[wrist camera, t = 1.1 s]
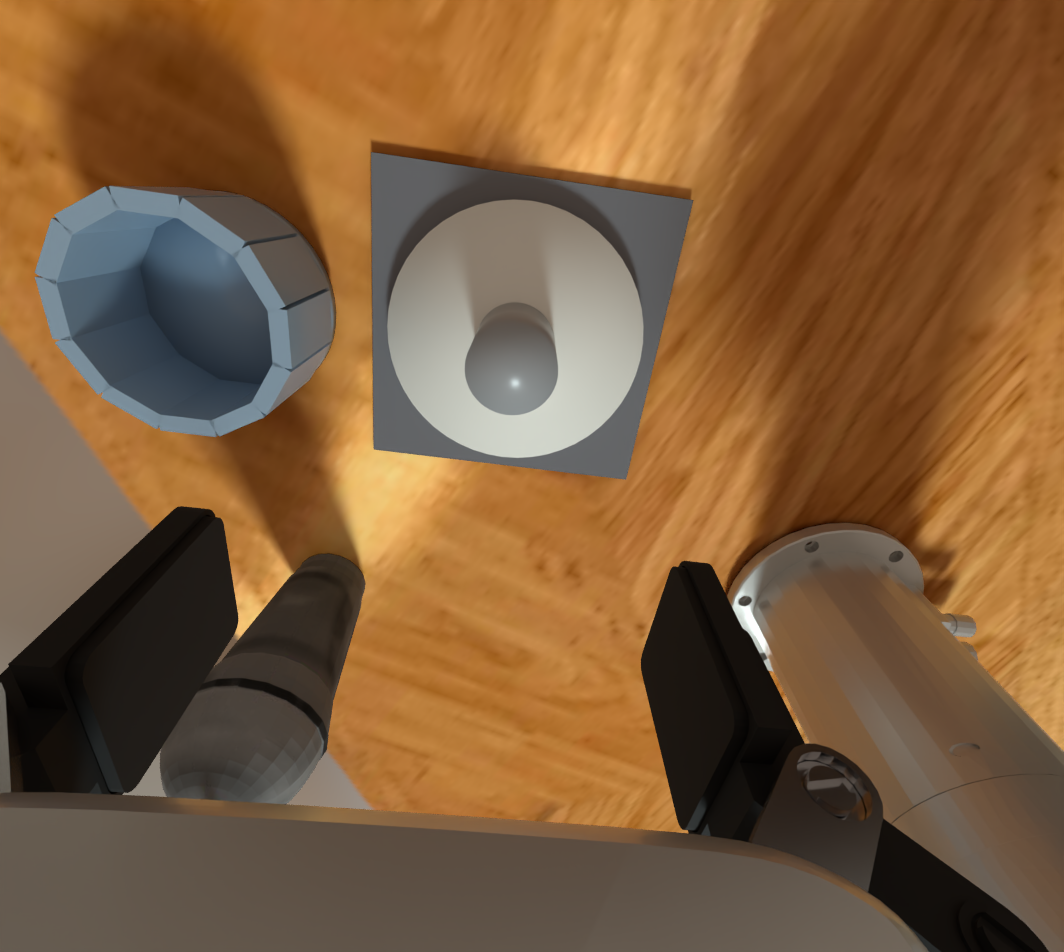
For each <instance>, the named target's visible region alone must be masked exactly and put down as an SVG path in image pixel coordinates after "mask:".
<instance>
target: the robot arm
mask: <svg viewBox="0 0 1064 952" xmlns="http://www.w3.org/2000/svg"><path fill="white" fill-rule="evenodd" d="M923 591H924V581H923V573H922V570H921V568H920V565H919V563H918V561H917V559H916V558H915V557H914V556H913V554H912V553H911V552H910V551H909V549H907V548H906V547H905V546H904V545H903V544H902V543H901V542H900V541H899V540H897V539H896V538H895V537H893V536H892V535H890V534H888V533H886V532H885V531H883V530H880V529H877V528H874V527H871V526H867V525H862V524H854V523H831V524H824V525H818V526H813V527H808V528H805V529H803V530H800V531H797V532H794V533H791V534H789V535H787V536H785V537H783V538H781V539H779V540H777V541H775V542H773V543H771V544H770V545H769V546H767V547H766V548H764V549H763V550H762V551H760V552H759V553H757V554H756V555H755V556H754V557H753V558H752V559H751V560H750V561H749V562H748V563H747V564H746V565H745V566H744V567H743V568H742V570H741V571H740V573H739V574H738V575H737V577H736V578H735V580H734V581H733V583H732V586H731V588H730V590H729V592H728V595H727V596H726V594H725V592H724V590H723V588H722V586H721V584H720V582H719V580H718V577H717V575H716V573H715V571H714V569H713V567H712V566H711V565H710V564H708V563H699V562H690V561H682V562H681V563H680V565H679V567H672V569H671V570H670V573H669V576H668V579H667V582H666V585H665V588H664V591H663V594H662V597H661V600H660V603H659V605H658V608H657V611H656V614H655V617H654V620H653V623H652V626H651V629H650V632H649V635H648V638H647V641H646V644H645V647H644V650H643V653H642V658H641V671H642V675H643V680H644V684H645V688H646V692H647V696H648V700H649V704H650V708H651V713H652V717H653V721H654V725H655V729H656V733H657V737H658V742H659V746H660V750H661V754H662V758H663V762H664V766H665V770H666V775H667V779H668V783H669V787H670V791H671V795H672V799H673V804H674V808H675V812H676V816H677V820H678V823H679V825H680V827H681V828H682V829H683V830H688V832H689V834H687V833H676V832H665V831H654V830H643V829H632V828H621V827H609V826H595V825H581V824H567V823H553V822H539V821H526V820H512V819H498V818H484V817H470V816H455V815H440V814H425V813H410V812H395V811H380V810H364V809H349V808H334V807H319V806H304V805H287V804H271V803H254V802H238V801H222V800H205V799H189V798H172V797H154V796H131V795H122V794H123V793H124V792H125V793H128V792H130V791H132V790H133V789H134V788H135V787H136V786H137V784H138V783H139V782H140V780H141V779H142V777H143V776H144V774H145V773H146V771H147V769H148V768H149V766H150V765H151V763H152V762H153V760H154V759H155V757H156V755H157V754H158V752H159V751H160V749H161V748H162V746H163V745H164V743H165V741H166V740H167V738H168V737H169V735H170V734H171V732H172V731H173V729H174V727H175V726H176V724H177V723H178V721H179V720H180V718H181V716H182V715H183V713H184V712H185V710H186V709H187V707H188V706H189V704H190V702H191V701H192V699H193V698H194V696H195V695H196V693H197V692H198V690H199V688H200V687H201V685H202V684H203V682H204V681H205V679H206V677H207V676H208V674H209V673H210V671H211V670H212V668H213V667H214V665H215V663H216V662H217V660H218V659H219V657H220V656H221V654H222V652H223V651H224V649H225V648H226V646H227V644H228V643H229V642H230V640H231V638H232V637H233V635H234V633H235V631H236V628H237V625H238V612H237V605H236V599H235V593H234V587H233V580H232V574H231V568H230V561H229V555H228V549H227V543H226V536H225V530H224V524H223V521H222V519H221V518H217V517H215V514H214V513H213V511H212V510H209V509H201V508H192V507H183V506H181V507H177V508H176V509H174V510H173V511H172V512H171V513H170V514H169V515H168V516H166V517H165V518H164V519H163V520H162V521H161V522H160V523H159V524H158V525H157V526H156V527H155V528H154V529H153V530H151V531H150V532H149V533H148V534H147V535H146V536H145V537H144V538H143V539H142V540H141V541H140V542H139V543H138V544H136V545H135V546H134V547H133V548H132V549H131V550H130V551H129V552H128V553H127V554H126V555H125V556H124V557H123V558H122V559H120V560H119V561H118V562H117V563H116V564H115V565H114V566H113V567H112V568H111V569H110V570H109V571H108V572H107V573H105V574H104V575H103V576H102V577H101V578H100V579H99V580H98V581H97V582H96V583H95V584H94V585H93V586H92V587H90V589H88V590H87V591H86V592H85V593H84V594H83V595H82V596H81V597H80V598H79V599H78V600H77V601H75V602H74V603H73V604H72V605H71V606H70V607H69V608H68V609H67V610H66V611H65V612H64V613H63V614H62V615H61V616H60V617H58V618H57V619H56V620H55V621H54V622H53V623H52V624H51V625H50V626H49V627H48V628H47V629H46V630H44V631H43V632H42V633H41V634H40V635H39V636H38V637H37V638H36V639H35V640H34V641H33V642H32V643H31V644H29V646H28V647H26V648H25V649H24V650H23V651H22V652H21V653H20V654H19V655H18V656H17V657H16V658H15V659H13V661H12V662H10V663H9V664H8V665H9V667H8V668H7V669H6V670H5V671H4V672H3V673H2V674H1V675H0V952H1064V751H1063V750H1062V749H1061V748H1060V747H1059V746H1058V745H1057V744H1056V743H1055V742H1054V741H1053V740H1052V739H1051V738H1050V737H1049V736H1048V735H1047V733H1046V732H1045V731H1044V730H1043V729H1042V728H1041V727H1040V726H1039V725H1038V724H1037V723H1036V722H1035V721H1034V720H1033V719H1032V718H1031V717H1030V716H1029V714H1028V713H1027V712H1026V711H1025V710H1024V709H1023V708H1022V707H1021V706H1020V705H1019V704H1018V703H1017V702H1016V701H1015V700H1014V699H1013V698H1012V697H1011V695H1010V694H1009V693H1008V692H1007V691H1006V690H1005V689H1004V688H1003V687H1002V686H1001V685H1000V684H999V683H998V682H997V681H996V680H995V679H994V678H993V676H992V675H991V674H990V673H989V672H988V671H987V670H986V669H985V668H984V667H983V666H982V665H981V664H980V663H979V662H978V658H977V653H976V651H975V649H974V648H973V646H972V645H970V644H969V643H967V642H960V641H958V640H957V638H956V637H955V636H960V637H972V636H973V635H974V634H975V632H976V623H975V622H974V620H973V618H971V617H969V616H968V615H959V614H942V613H941V612H940V611H939V610H938V609H937V608H936V607H935V606H934V605H933V604H932V603H931V602H930V601H929V600H928V599H927V598H926V597H925V596H924V595H923ZM768 670H769V671H773V672H774V673H775V675H776V677H777V679H778V681H779V683H780V685H781V687H782V689H783V691H784V693H785V695H786V697H787V699H788V701H789V703H790V705H791V707H792V709H793V711H794V713H795V715H796V717H797V719H798V721H799V723H800V725H801V727H802V729H803V731H804V733H805V735H806V737H807V739H808V741H809V743H810V744H805V743H804V741H803V739H802V737H801V735H800V733H799V731H798V729H797V727H796V725H795V723H794V721H793V719H792V717H791V715H790V713H789V711H788V709H787V707H786V705H785V703H784V701H783V699H782V697H781V695H780V693H779V691H778V689H777V687H776V685H775V683H774V681H773V679H772V677H771V675H770V673H769V671H768Z"/></svg>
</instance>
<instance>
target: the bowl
mask: <svg viewBox="0 0 1064 952" xmlns="http://www.w3.org/2000/svg"><path fill="white" fill-rule="evenodd" d="M55 217H56V218H52V219H51V222H50V225H49V228H48V232H47V235H46V238H45V241H44V245H43V248H42V251H41V254H40V257H39V261H38V264H37V267H36V270H35V273H36V274H38V275H39V276H38V277H35V279H36V283H37V286H38V290H39V293H40V297H41V300H42V304H43V307H44V311H45V314H46V318H47V321H48V324H49V328H50V331H51V335H52V338H53V339H59V341H57V342H55V344H56V345H57V346H58V347H59V348H60V350H61V351H62V352H63V353H64V354H65V356H66V357H67V358H68V359H69V361H70V362H71V363H72V364H73V365H74V367H75V368H76V369H77V370H78V371H79V373H80V374H81V375H82V376H83V377H84V379H85V380H86V381H87V382H88V383H89V385H90V386H91V387H92V388H93V389H94V391H95V392H96V393H97V394H100V393H102V392H103V394H102V397H101V398H103V399H105V400H106V401H108V402H110V403H112V404H113V405H115V406H117V407H119V408H120V409H122V410H124V411H126V412H128V413H129V414H131V415H133V416H135V417H136V418H138V419H140V420H142V421H143V422H145V423H147V424H149V425H150V426H152V427H154V428H156V429H157V428H159V427H160V430H162V431H170V432H178V433H187V434H195V435H204V436H212V437H217V436H218V435H219V436H222V435H224V434H227V433H229V432H231V431H234V430H236V429H238V428H241V427H243V426H245V425H248V424H250V423H252V422H255V421H257V420H259V419H262V418H264V417H265V416H267V415H268V414H269V413H270V412H271V411H273V410H274V409H275V408H276V407H277V406H279V405H280V404H281V403H282V402H284V401H285V400H286V399H287V398H288V397H290V396H291V395H292V394H293V393H294V392H296V391H297V390H298V389H299V388H301V387H302V386H303V385H304V384H305V383H307V382H308V381H309V380H310V379H311V377H312V375H313V373H314V372H315V371H316V370H317V369H318V367H319V366H320V365H321V364H322V362H323V361H324V359H325V358H326V356H327V354H328V352H329V350H330V348H331V344H332V341H333V338H334V333H335V327H336V306H335V298H334V294H333V290H332V286H331V283H330V280H329V277H328V274H327V272H326V270H325V268H324V266H323V264H322V262H321V260H320V258H319V257H318V255H317V254H316V252H315V250H314V249H313V247H312V246H311V245H310V243H309V242H308V241H307V240H306V238H305V237H304V236H303V235H302V234H301V233H300V232H299V231H298V230H297V229H296V228H295V227H294V226H293V225H292V224H291V223H290V222H289V221H288V220H286V219H285V218H284V217H283V216H281V215H280V214H279V213H277V212H276V211H274V210H273V209H271V208H269V207H268V206H266V205H264V204H262V203H260V202H258V201H256V200H254V199H251V198H249V197H246V196H244V195H240V194H235V193H231V192H226V191H213V190H204V189H197V188H190V187H147V186H105V187H103V188H101V189H99V190H98V191H96V192H94V193H92V194H90V195H89V196H87V197H85V198H83V199H82V200H80V201H78V202H76V203H74V204H73V205H71V206H69V207H67V208H66V209H64V210H62V211H60V212H58V213H57V214H55Z"/></svg>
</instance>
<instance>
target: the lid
mask: <svg viewBox="0 0 1064 952" xmlns="http://www.w3.org/2000/svg"><path fill="white" fill-rule="evenodd" d="M643 327H644V326H643V316H642V308H641V304H640V299H639V295H638V291H637V289H636V286H635V284H634V281H633V278H632V276H631V274H630V272H629V270H628V268H627V267H626V265H625V263H624V261H623V259H622V258H621V257H620V255H619V254H618V253H617V251H616V250H615V249H614V247H613V246H612V245H611V244H610V243H609V242H608V241H607V240H606V239H605V238H604V237H603V236H602V235H601V234H600V233H599V232H598V231H597V230H596V229H594V228H593V227H592V226H590V225H589V224H588V223H586V222H585V221H584V220H582V219H580V218H578V217H576V216H575V215H573V214H571V213H569V212H567V211H565V210H562V209H560V208H557V207H555V206H552V205H549V204H544V203H540V202H535V201H529V200H515V199H513V200H500V201H492V202H488V203H483V204H479V205H475V206H473V207H470V208H468V209H465V210H463V211H460V212H458V213H456V214H454V215H453V216H451V217H449V218H447V219H446V220H444V221H442V222H441V223H440V224H439V225H437V226H436V227H435V228H434V229H432V230H431V231H430V232H429V233H428V234H427V235H426V236H425V237H424V238H423V239H422V240H421V241H420V242H419V243H418V244H417V245H416V246H415V248H414V249H413V251H412V252H411V253H410V255H409V256H408V258H407V259H406V261H405V263H404V265H403V267H402V268H401V270H400V272H399V274H398V277H397V279H396V282H395V285H394V288H393V291H392V295H391V299H390V304H389V309H388V324H387V329H388V344H389V349H390V354H391V359H392V362H393V366H394V369H395V372H396V375H397V377H398V379H399V381H400V383H401V385H402V388H403V390H404V391H405V393H406V394H407V396H408V398H409V399H410V401H411V402H412V404H413V405H414V406H415V408H416V409H417V410H418V411H419V412H420V414H421V415H422V416H423V417H424V418H425V419H426V420H427V421H428V422H429V423H430V424H431V425H432V426H433V427H435V428H436V429H437V430H439V431H440V432H441V433H443V434H444V435H445V436H447V437H448V438H450V439H452V440H454V441H455V442H457V443H459V444H461V445H463V446H465V447H468V448H470V449H472V450H475V451H479V452H482V453H485V454H489V455H495V456H500V457H512V458H523V457H535V456H540V455H546V454H550V453H553V452H556V451H560V450H562V449H565V448H567V447H569V446H571V445H574V444H576V443H578V442H579V441H581V440H583V439H584V438H586V437H588V436H589V435H590V434H592V433H593V432H594V431H596V430H597V429H598V428H599V427H601V426H602V425H603V424H604V423H605V422H606V421H607V420H608V419H609V418H610V417H611V416H612V414H613V413H614V412H615V411H616V409H617V408H618V407H619V406H620V404H621V403H622V401H623V399H624V398H625V396H626V394H627V393H628V391H629V389H630V387H631V385H632V383H633V380H634V378H635V376H636V373H637V369H638V366H639V362H640V359H641V353H642V346H643Z"/></svg>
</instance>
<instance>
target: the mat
mask: <svg viewBox="0 0 1064 952" xmlns="http://www.w3.org/2000/svg"><path fill="white" fill-rule="evenodd" d="M371 187H372V307H373V426H374V449H375V450H383V451H391V452H400V453H408V454H417V455H425V456H433V457H442V458H450V459H459V460H467V461H475V462H484V463H492V464H500V465H509V466H517V467H526V468H534V469H542V470H551V471H559V472H568V473H576V474H584V475H593V476H601V477H610V478H618V479H626V477H627V473H628V469H629V465H630V460H631V456H632V452H633V448H634V444H635V440H636V436H637V431H638V427H639V423H640V419H641V415H642V411H643V407H644V402H645V398H646V394H647V390H648V386H649V382H650V378H651V373H652V369H653V365H654V361H655V357H656V353H657V349H658V344H659V340H660V336H661V332H662V328H663V324H664V320H665V315H666V311H667V307H668V303H669V299H670V295H671V290H672V286H673V282H674V278H675V274H676V270H677V266H678V261H679V257H680V253H681V249H682V245H683V241H684V237H685V232H686V228H687V224H688V220H689V216H690V212H691V208H692V203H693V200H688V199H681V198H675V197H668V196H661V195H655V194H648V193H641V192H634V191H628V190H621V189H614V188H608V187H601V186H594V185H588V184H581V183H574V182H568V181H561V180H554V179H548V178H541V177H534V176H528V175H521V174H514V173H507V172H501V171H494V170H487V169H481V168H474V167H467V166H461V165H454V164H447V163H441V162H434V161H427V160H421V159H414V158H407V157H400V156H394V155H387V154H380V153H374V152H371ZM513 199H515V200H529V201H535V202H540V203H544V204H549V205H552V206H555V207H557V208H560V209H562V210H565V211H567V212H569V213H571V214H573V215H575V216H576V217H578V218H580V219H582V220H584V221H585V222H586V223H588V224H589V225H590V226H592V227H593V228H594V229H596V230H597V231H598V232H599V233H600V234H601V235H602V236H603V237H604V238H605V239H606V240H607V241H608V242H609V243H610V244H611V245H612V246H613V247H614V249H615V250H616V251H617V253H618V254H619V255H620V257H621V258H622V259H623V261H624V263H625V265H626V267H627V268H628V270H629V272H630V274H631V276H632V278H633V281H634V284H635V286H636V289H637V291H638V295H639V299H640V304H641V308H642V316H643V326H644V327H643V346H642V353H641V359H640V362H639V366H638V369H637V373H636V376H635V378H634V380H633V383H632V385H631V387H630V389H629V391H628V393H627V394H626V396H625V398H624V399H623V401H622V403H621V404H620V406H619V407H618V408H617V409H616V411H615V412H614V413H613V414H612V416H611V417H610V418H609V419H608V420H607V421H606V422H605V423H604V424H603V425H602V426H601V427H599V428H598V429H597V430H596V431H594V432H593V433H592V434H590V435H589V436H588V437H586V438H584V439H583V440H581V441H579V442H578V443H576V444H574V445H571V446H569V447H567V448H565V449H562V450H560V451H556V452H553V453H550V454H546V455H540V456H535V457H523V458H512V457H500V456H495V455H489V454H485V453H482V452H479V451H475V450H472V449H470V448H468V447H465V446H463V445H461V444H459V443H457V442H455V441H454V440H452V439H450V438H448V437H447V436H445V435H444V434H443V433H441V432H440V431H439V430H437V429H436V428H435V427H433V426H432V425H431V424H430V423H429V422H428V421H427V420H426V419H425V418H424V417H423V416H422V415H421V414H420V412H419V411H418V410H417V409H416V408H415V406H414V405H413V404H412V402H411V401H410V399H409V398H408V396H407V394H406V393H405V391H404V390H403V388H402V385H401V383H400V381H399V379H398V377H397V375H396V372H395V369H394V366H393V362H392V359H391V354H390V349H389V344H388V329H387V324H388V309H389V304H390V299H391V295H392V291H393V288H394V285H395V282H396V279H397V277H398V274H399V272H400V270H401V268H402V267H403V265H404V263H405V261H406V259H407V258H408V256H409V255H410V253H411V252H412V251H413V249H414V248H415V246H416V245H417V244H418V243H419V242H420V241H421V240H422V239H423V238H424V237H425V236H426V235H427V234H428V233H429V232H430V231H431V230H432V229H434V228H435V227H436V226H437V225H439V224H440V223H441V222H442V221H444V220H446V219H447V218H449V217H451V216H453V215H454V214H456V213H458V212H460V211H463V210H465V209H468V208H470V207H473V206H475V205H479V204H483V203H488V202H492V201H500V200H513Z"/></svg>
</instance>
